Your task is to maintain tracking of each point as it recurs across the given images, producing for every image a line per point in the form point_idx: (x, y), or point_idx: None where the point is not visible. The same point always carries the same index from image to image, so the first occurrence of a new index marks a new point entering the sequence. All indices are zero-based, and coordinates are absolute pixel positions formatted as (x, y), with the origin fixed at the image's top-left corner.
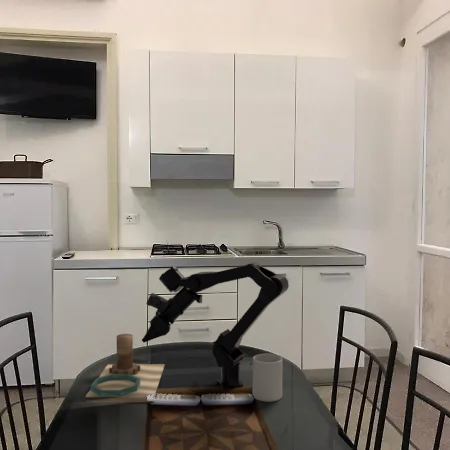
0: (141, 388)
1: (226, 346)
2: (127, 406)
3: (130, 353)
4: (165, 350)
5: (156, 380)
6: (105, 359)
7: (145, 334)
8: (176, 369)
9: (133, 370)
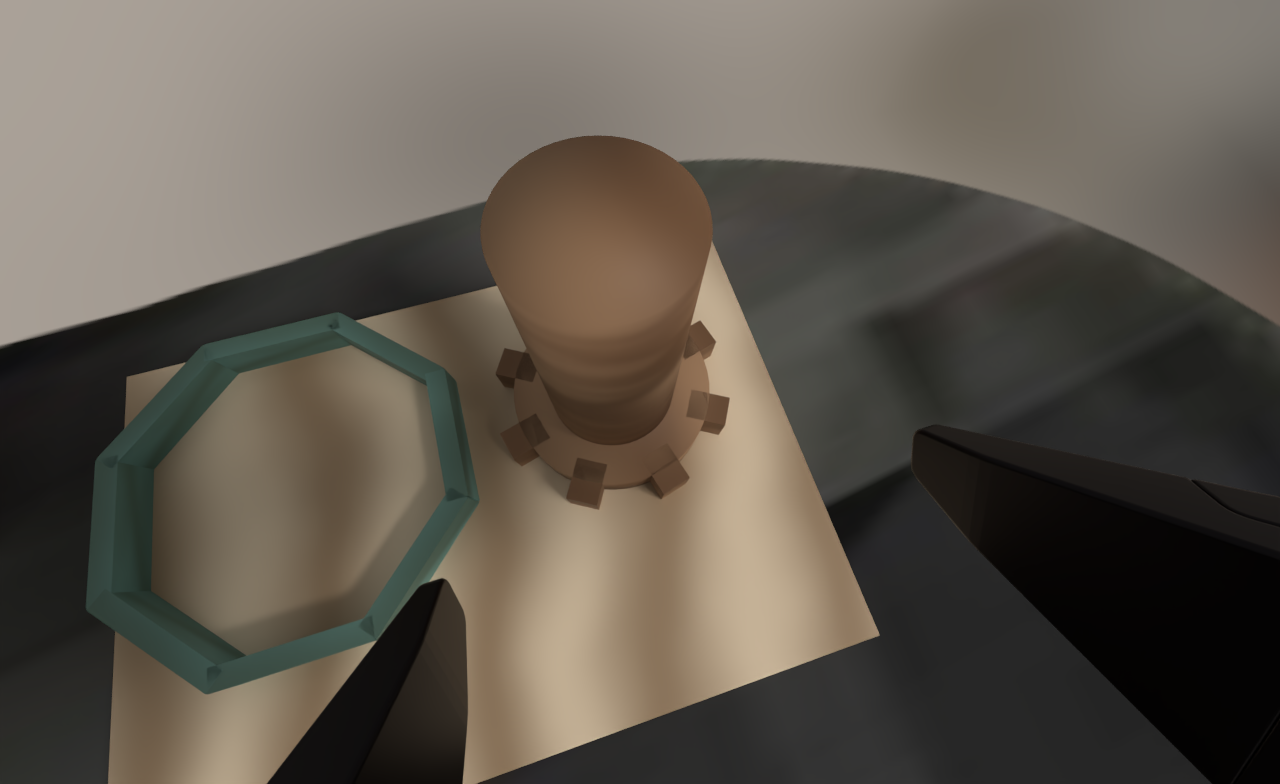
0: (293, 696)
1: None
2: (78, 695)
3: (583, 404)
4: (1228, 444)
5: (487, 746)
6: (845, 169)
7: (397, 676)
8: (890, 745)
9: (572, 480)
